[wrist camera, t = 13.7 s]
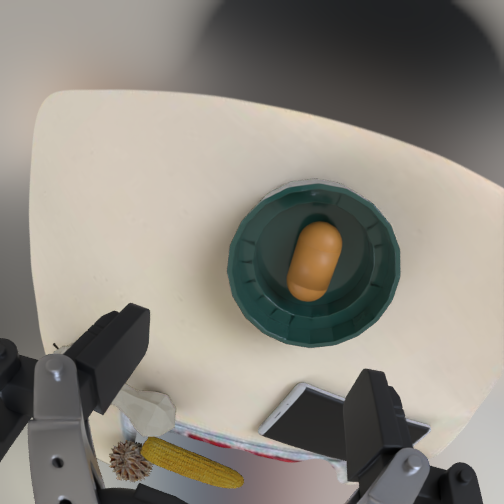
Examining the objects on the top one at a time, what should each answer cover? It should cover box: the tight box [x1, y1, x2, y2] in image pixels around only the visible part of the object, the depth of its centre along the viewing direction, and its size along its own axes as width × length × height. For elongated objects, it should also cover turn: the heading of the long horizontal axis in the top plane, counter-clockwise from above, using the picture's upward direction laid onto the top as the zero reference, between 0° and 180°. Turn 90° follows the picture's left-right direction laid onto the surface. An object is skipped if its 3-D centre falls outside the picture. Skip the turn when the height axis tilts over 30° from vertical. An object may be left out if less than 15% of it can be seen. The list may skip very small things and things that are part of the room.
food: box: [140, 437, 244, 488], centre depth 45 cm, size 21×6×6 cm, turn 67°
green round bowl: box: [227, 178, 400, 348], centre depth 29 cm, size 16×16×6 cm
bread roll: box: [287, 221, 342, 302], centre depth 30 cm, size 8×4×4 cm, turn 167°
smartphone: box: [258, 383, 431, 461], centre depth 39 cm, size 13×27×2 cm, turn 65°
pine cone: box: [109, 440, 153, 482], centre depth 48 cm, size 22×10×10 cm, turn 155°
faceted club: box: [53, 343, 176, 437], centre depth 41 cm, size 9×8×25 cm
